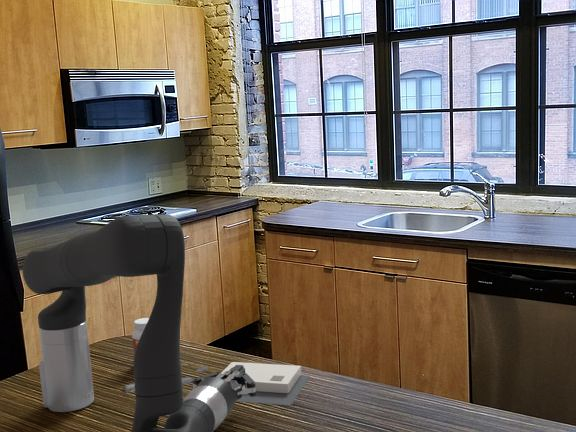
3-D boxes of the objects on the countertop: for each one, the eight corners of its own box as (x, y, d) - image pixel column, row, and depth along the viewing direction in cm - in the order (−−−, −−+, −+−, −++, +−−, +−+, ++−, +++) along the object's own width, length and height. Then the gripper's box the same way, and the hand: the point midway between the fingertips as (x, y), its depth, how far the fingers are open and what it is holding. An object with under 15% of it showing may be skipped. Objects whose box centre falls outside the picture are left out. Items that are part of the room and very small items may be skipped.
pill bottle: (134, 372, 155) (129, 325, 153) (135, 362, 161) (131, 318, 159) (161, 368, 156) (157, 323, 154) (161, 359, 162) (157, 315, 160)
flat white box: (214, 378, 141) (232, 361, 150) (215, 388, 141) (232, 370, 151) (287, 383, 136) (300, 365, 146) (288, 393, 137) (301, 375, 146)
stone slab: (207, 364, 155) (208, 378, 145) (208, 371, 155) (209, 386, 145) (128, 374, 153) (122, 389, 143) (128, 382, 153) (123, 397, 143)
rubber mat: (197, 401, 137) (196, 398, 137) (224, 373, 151) (224, 370, 151) (290, 408, 131) (290, 405, 131) (310, 378, 146) (310, 375, 146)
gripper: (240, 388, 114) (271, 352, 130) (169, 384, 118) (207, 349, 134) (243, 430, 115) (273, 389, 132) (173, 424, 119) (210, 385, 135)
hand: (240, 369), depth 133 cm, fingers closed
